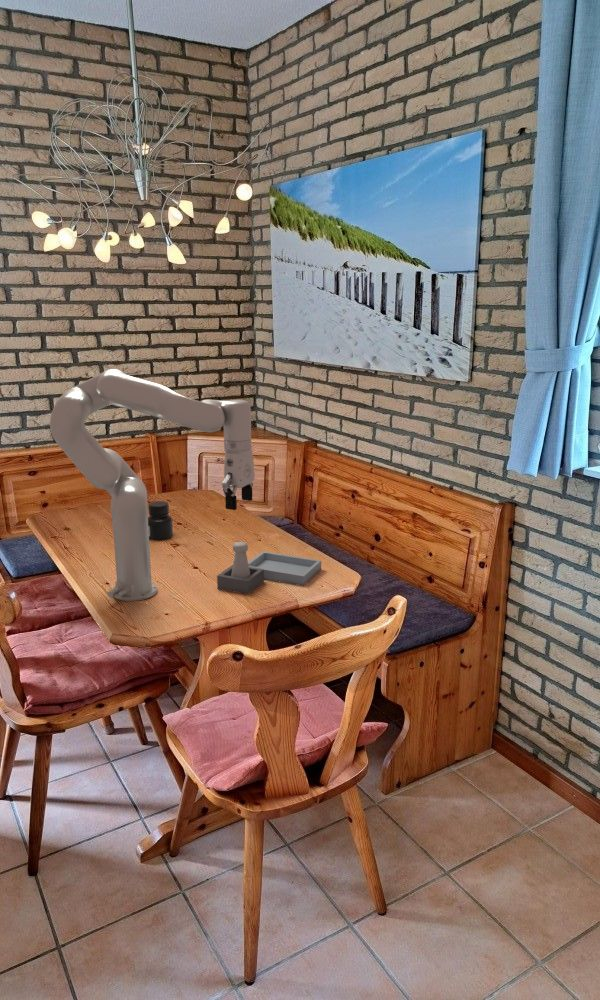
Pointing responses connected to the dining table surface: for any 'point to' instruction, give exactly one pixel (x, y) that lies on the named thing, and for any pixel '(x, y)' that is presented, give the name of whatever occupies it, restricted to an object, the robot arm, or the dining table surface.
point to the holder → (240, 580)
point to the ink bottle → (159, 521)
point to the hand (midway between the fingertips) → (239, 504)
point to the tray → (286, 567)
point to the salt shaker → (240, 561)
